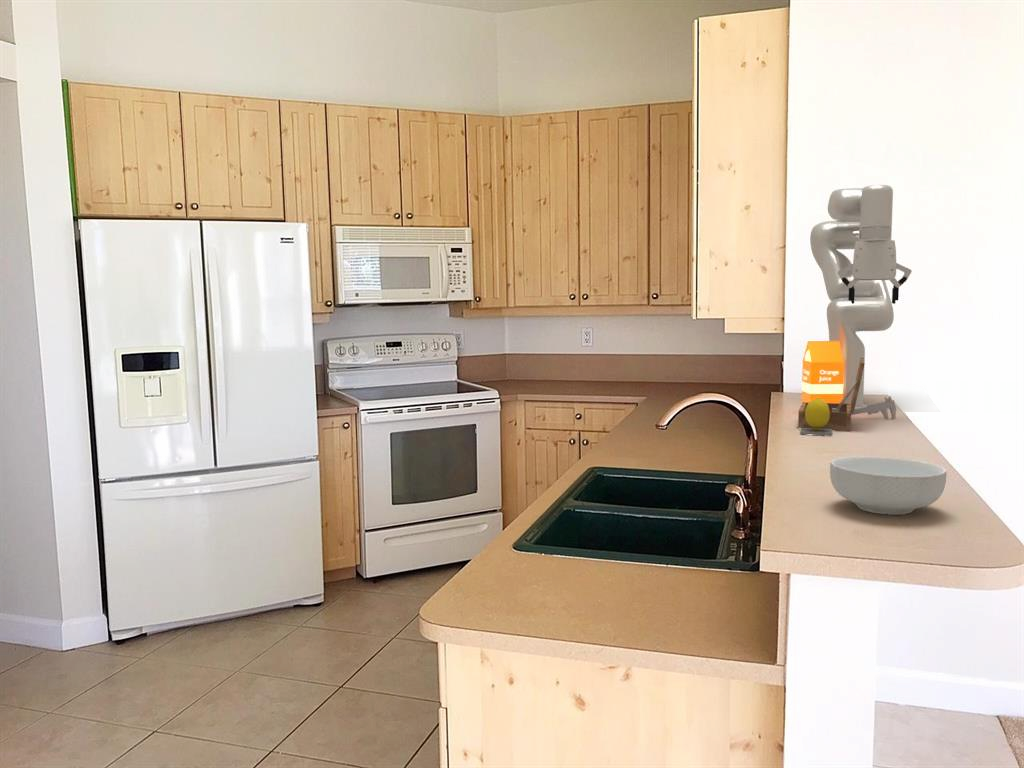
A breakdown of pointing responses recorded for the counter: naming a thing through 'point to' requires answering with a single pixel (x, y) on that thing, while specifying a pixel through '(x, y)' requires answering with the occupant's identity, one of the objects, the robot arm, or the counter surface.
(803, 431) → the coaster
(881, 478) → the cereal bowl
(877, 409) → the caliper
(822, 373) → the orange juice
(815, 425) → the lemon
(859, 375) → the case
